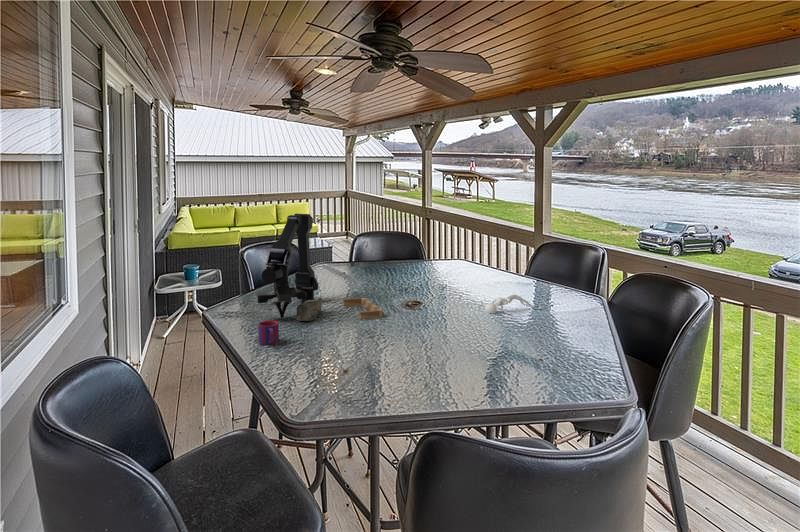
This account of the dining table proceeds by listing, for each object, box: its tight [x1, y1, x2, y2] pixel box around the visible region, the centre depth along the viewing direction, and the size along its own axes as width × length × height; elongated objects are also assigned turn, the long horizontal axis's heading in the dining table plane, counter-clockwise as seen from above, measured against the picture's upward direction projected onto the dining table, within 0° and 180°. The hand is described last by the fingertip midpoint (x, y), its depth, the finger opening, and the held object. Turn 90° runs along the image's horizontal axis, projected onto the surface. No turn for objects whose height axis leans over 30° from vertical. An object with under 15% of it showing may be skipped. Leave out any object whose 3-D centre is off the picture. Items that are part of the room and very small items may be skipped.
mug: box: [257, 320, 280, 346], centre depth 173 cm, size 7×10×7 cm
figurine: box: [484, 294, 542, 315], centre depth 220 cm, size 9×10×25 cm
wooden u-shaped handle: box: [342, 297, 383, 321], centre depth 215 cm, size 23×10×3 cm, turn 24°
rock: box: [294, 297, 322, 322], centre depth 205 cm, size 17×7×10 cm
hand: (281, 317), depth 202 cm, fingers closed
